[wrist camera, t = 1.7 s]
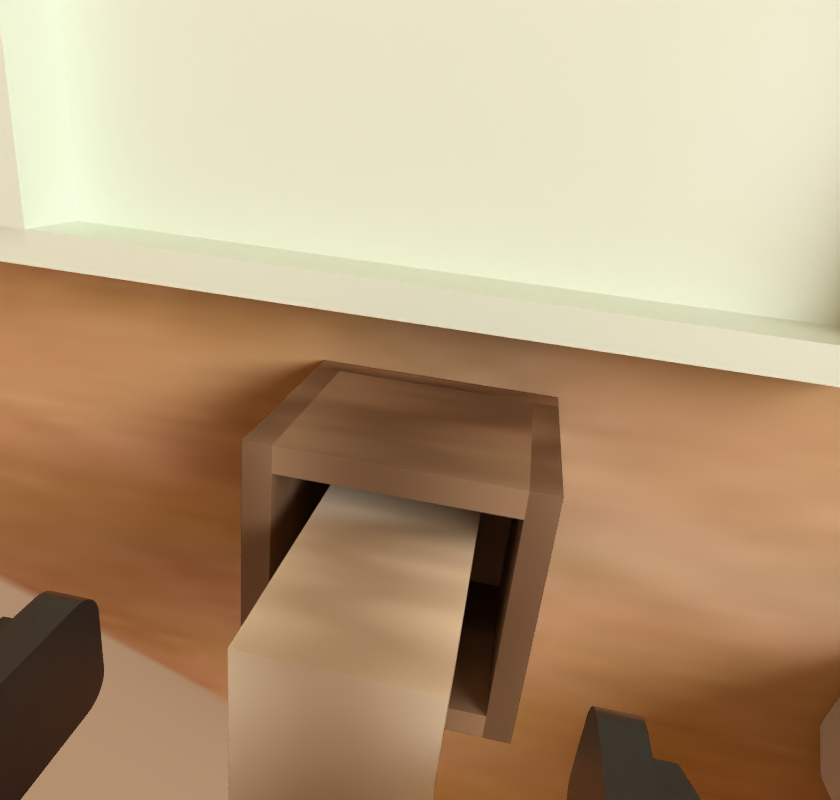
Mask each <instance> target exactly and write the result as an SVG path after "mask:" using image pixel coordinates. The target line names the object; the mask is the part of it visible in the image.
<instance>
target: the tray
mask: <svg viewBox="0 0 840 800" xmlns="http://www.w3.org/2000/svg"><path fill="white" fill-rule="evenodd" d="M0 261H2V262H9V263H15V264H22V265H29V266H35V267H42V268H49V269H55V270H62V271H69V272H75V273H82V274H89V275H95V276H102V277H109V278H115V279H122V280H129V281H135V282H142V283H149V284H155V285H162V286H169V287H175V288H182V289H189V290H195V291H202V292H209V293H215V294H222V295H229V296H235V297H242V298H248V299H255V300H262V301H268V302H275V303H282V304H288V305H295V306H302V307H308V308H315V309H322V310H328V311H335V312H342V313H348V314H355V315H362V316H368V317H375V318H382V319H388V320H395V321H402V322H408V323H415V324H422V325H428V326H435V327H442V328H448V329H455V330H462V331H468V332H475V333H482V334H488V335H495V336H502V337H508V338H515V339H522V340H528V341H535V342H542V343H548V344H555V345H562V346H568V347H575V348H582V349H588V350H595V351H602V352H608V353H615V354H622V355H628V356H635V357H642V358H648V359H655V360H662V361H668V362H675V363H682V364H688V365H695V366H702V367H708V368H715V369H722V370H728V371H735V372H742V373H748V374H755V375H762V376H768V377H775V378H782V379H788V380H795V381H802V382H808V383H815V384H822V385H828V386H835V387H840V0H0Z"/></svg>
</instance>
